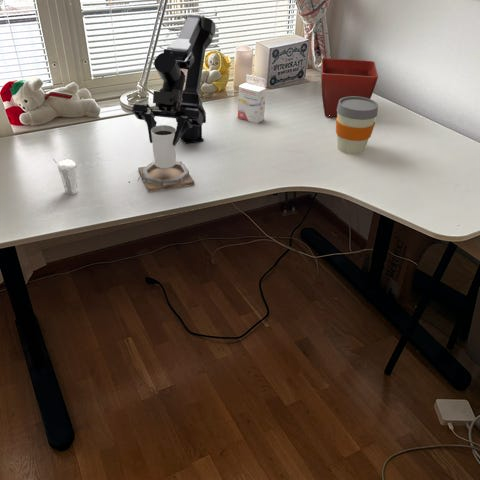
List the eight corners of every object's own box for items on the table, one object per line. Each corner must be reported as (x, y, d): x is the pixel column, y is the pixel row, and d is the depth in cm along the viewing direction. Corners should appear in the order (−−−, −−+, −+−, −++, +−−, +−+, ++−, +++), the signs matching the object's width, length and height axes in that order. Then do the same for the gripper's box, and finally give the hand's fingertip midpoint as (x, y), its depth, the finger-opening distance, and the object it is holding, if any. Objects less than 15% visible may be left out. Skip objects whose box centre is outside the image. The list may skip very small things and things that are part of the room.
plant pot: (316, 101, 203) (322, 57, 193) (366, 105, 201) (374, 60, 191) (315, 120, 187) (321, 73, 177) (369, 124, 185) (378, 77, 176)
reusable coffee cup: (378, 148, 169) (386, 103, 160) (356, 160, 162) (365, 114, 153) (345, 136, 176) (352, 93, 167) (323, 147, 168) (329, 102, 160)
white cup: (163, 171, 143) (160, 137, 137) (148, 162, 147) (145, 129, 141) (181, 164, 147) (180, 130, 141) (167, 155, 150) (165, 123, 145)
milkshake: (61, 188, 142) (54, 154, 137) (81, 187, 143) (75, 154, 137) (58, 196, 139) (51, 162, 133) (78, 196, 139) (72, 162, 133)
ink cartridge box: (236, 118, 186) (238, 77, 178) (244, 114, 190) (245, 73, 181) (257, 124, 183) (259, 82, 174) (264, 119, 186) (267, 78, 178)
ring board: (181, 164, 156) (181, 157, 155) (194, 184, 146) (194, 177, 145) (138, 170, 152) (137, 163, 151) (148, 192, 142) (148, 184, 141)
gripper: (130, 73, 137) (119, 129, 135) (199, 79, 135) (189, 137, 133) (143, 92, 148) (133, 144, 146) (207, 98, 146) (198, 151, 143)
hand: (162, 143), depth 142 cm, fingers closed on white cup, 6 cm apart
